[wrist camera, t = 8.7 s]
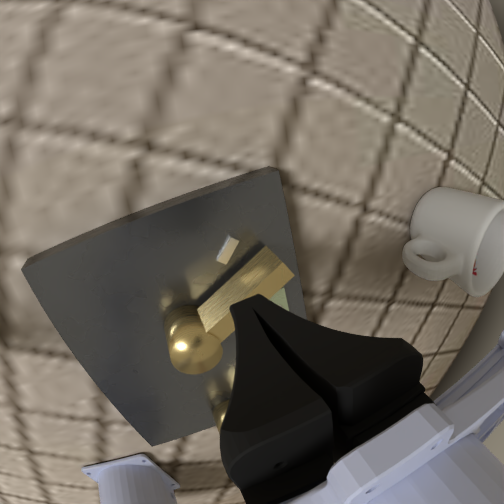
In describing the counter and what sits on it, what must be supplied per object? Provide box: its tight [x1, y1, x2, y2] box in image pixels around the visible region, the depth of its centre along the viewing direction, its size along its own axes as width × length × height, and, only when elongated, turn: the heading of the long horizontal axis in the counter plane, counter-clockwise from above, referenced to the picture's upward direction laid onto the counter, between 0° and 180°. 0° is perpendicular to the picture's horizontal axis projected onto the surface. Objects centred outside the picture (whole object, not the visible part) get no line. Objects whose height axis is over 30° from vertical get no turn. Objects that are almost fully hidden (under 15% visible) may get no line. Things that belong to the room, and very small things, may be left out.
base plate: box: [21, 166, 307, 446], centre depth 21 cm, size 19×16×2 cm
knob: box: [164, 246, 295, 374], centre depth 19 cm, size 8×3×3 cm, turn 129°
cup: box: [402, 187, 504, 297], centre depth 23 cm, size 11×8×8 cm
